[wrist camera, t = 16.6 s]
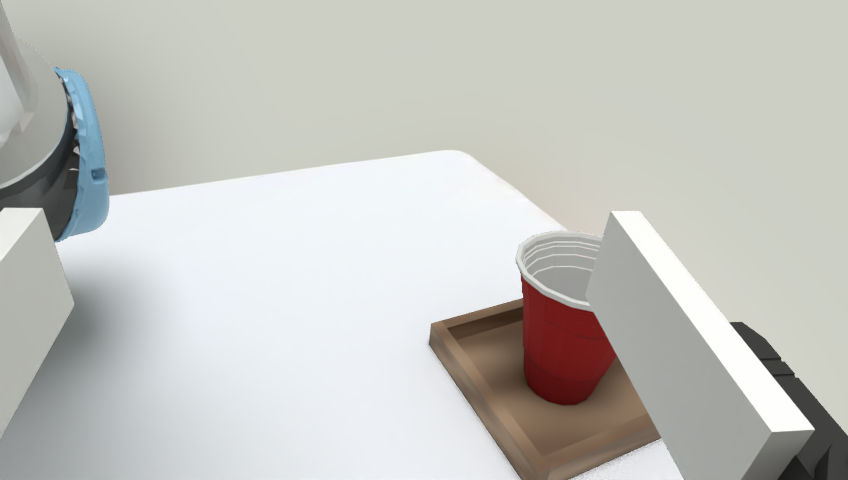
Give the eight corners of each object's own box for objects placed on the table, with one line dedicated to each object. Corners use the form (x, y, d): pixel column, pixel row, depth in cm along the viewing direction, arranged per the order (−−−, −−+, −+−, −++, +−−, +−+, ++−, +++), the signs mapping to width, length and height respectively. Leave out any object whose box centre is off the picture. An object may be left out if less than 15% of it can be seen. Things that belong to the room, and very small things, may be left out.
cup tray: (428, 343, 52) (431, 323, 51) (571, 302, 58) (576, 283, 57) (532, 495, 40) (538, 474, 39) (695, 422, 47) (706, 401, 45)
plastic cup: (610, 339, 53) (647, 229, 47) (637, 437, 44) (689, 317, 38) (491, 326, 53) (512, 215, 47) (495, 422, 44) (521, 300, 38)
